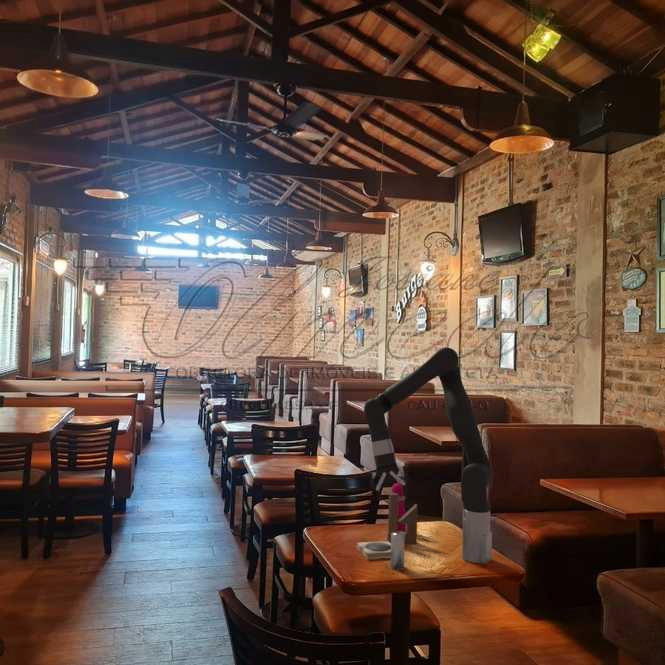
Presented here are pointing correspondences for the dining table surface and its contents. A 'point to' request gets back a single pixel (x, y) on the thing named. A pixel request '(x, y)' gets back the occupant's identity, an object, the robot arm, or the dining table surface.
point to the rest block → (375, 549)
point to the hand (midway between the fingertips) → (393, 498)
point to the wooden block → (402, 520)
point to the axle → (397, 550)
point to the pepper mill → (400, 503)
